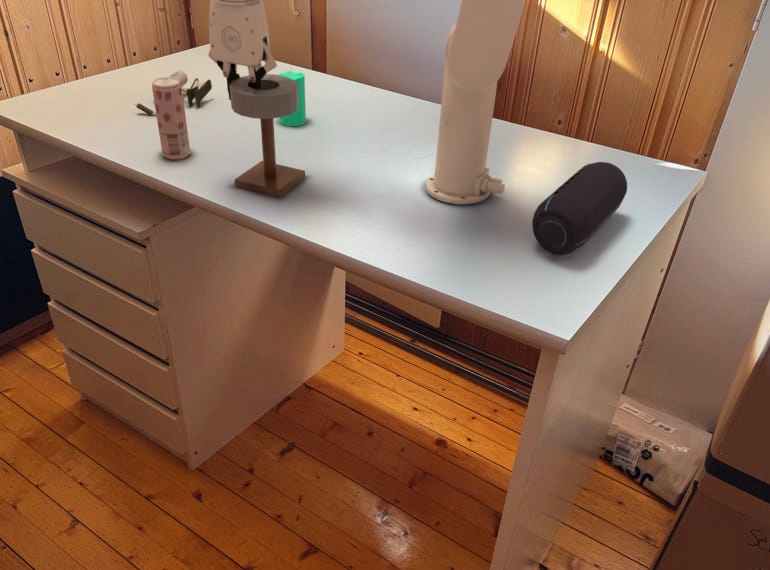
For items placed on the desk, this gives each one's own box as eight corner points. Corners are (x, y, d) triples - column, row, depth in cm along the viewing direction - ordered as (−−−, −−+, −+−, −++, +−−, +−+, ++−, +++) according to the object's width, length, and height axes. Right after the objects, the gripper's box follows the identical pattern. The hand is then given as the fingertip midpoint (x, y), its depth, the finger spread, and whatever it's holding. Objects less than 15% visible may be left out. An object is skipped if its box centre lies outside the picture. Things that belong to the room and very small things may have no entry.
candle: (311, 121, 165) (310, 68, 158) (292, 128, 162) (290, 74, 154) (293, 114, 168) (292, 62, 161) (274, 121, 165) (271, 67, 157)
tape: (309, 102, 133) (309, 80, 131) (276, 123, 125) (275, 100, 122) (254, 91, 137) (253, 70, 134) (219, 111, 128) (216, 88, 126)
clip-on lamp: (170, 133, 165) (216, 94, 174) (164, 108, 160) (212, 70, 169) (131, 118, 169) (179, 81, 178) (123, 93, 163) (173, 57, 173)
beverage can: (180, 146, 152) (169, 74, 142) (196, 154, 149) (186, 81, 139) (157, 154, 149) (145, 80, 139) (173, 162, 146) (161, 88, 136)
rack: (305, 177, 142) (303, 110, 133) (279, 197, 135) (276, 127, 126) (262, 167, 145) (257, 101, 137) (235, 186, 138) (228, 117, 129)
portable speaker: (574, 199, 138) (586, 149, 132) (624, 213, 134) (639, 163, 127) (518, 251, 122) (528, 197, 115) (573, 270, 118) (587, 215, 111)
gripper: (182, -11, 120) (196, 98, 132) (267, 2, 115) (273, 114, 126) (208, -19, 125) (219, 86, 137) (290, -7, 120) (294, 102, 132)
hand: (245, 99), depth 132 cm, fingers closed on tape, 3 cm apart
